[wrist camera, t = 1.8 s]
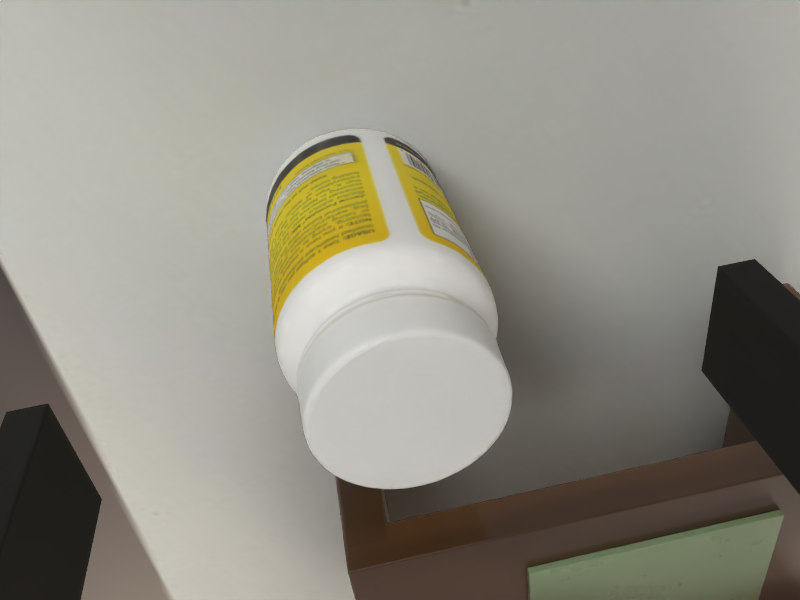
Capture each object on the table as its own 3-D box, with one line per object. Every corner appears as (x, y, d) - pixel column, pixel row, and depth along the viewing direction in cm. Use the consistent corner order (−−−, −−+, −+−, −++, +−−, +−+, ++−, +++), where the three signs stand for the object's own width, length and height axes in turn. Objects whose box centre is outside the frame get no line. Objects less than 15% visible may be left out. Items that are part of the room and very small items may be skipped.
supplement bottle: (256, 269, 21) (262, 503, 14) (277, 110, 18) (296, 303, 12) (417, 283, 22) (493, 504, 15) (457, 137, 20) (569, 325, 13)
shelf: (322, 379, 24) (363, 696, 15) (787, 281, 25) (1059, 530, 16) (374, 588, 31) (422, 881, 22) (734, 505, 32) (905, 757, 24)
